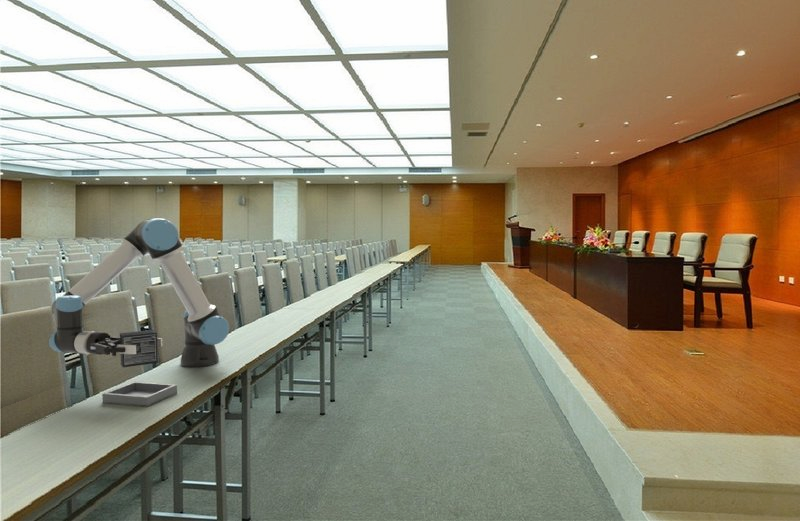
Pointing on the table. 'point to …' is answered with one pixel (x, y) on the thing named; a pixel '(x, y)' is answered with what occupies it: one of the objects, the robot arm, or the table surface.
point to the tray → (140, 394)
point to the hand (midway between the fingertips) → (149, 345)
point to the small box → (140, 348)
